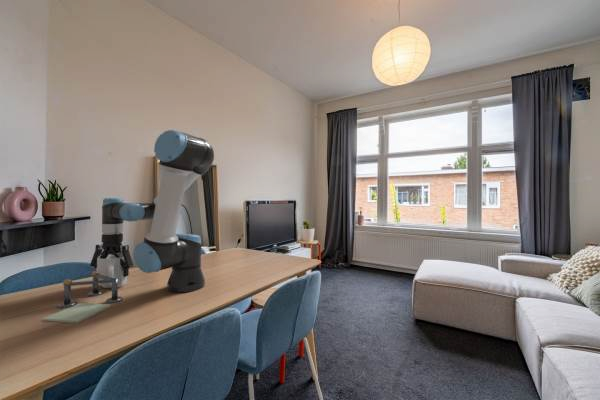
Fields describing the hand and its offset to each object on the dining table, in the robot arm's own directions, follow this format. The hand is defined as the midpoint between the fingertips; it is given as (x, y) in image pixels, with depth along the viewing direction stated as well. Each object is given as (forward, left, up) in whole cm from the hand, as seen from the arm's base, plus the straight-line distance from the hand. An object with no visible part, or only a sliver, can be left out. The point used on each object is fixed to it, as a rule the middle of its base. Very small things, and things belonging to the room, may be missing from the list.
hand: (111, 283), depth 109 cm
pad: (-11, +25, -1) cm, 28 cm away
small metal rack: (-8, +14, -1) cm, 16 cm away
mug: (-1, 0, -2) cm, 2 cm away
